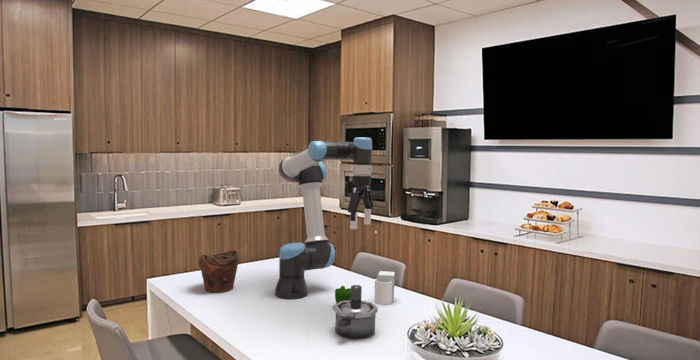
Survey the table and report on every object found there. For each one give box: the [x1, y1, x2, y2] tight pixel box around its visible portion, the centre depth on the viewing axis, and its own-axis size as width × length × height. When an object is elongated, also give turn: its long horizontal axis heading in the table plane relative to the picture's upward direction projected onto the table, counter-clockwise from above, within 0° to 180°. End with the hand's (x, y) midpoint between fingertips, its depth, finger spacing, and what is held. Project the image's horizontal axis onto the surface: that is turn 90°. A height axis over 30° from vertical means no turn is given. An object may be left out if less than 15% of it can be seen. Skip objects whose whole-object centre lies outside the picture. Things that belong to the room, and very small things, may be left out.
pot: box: [333, 299, 379, 340], centre depth 179 cm, size 15×24×10 cm, turn 154°
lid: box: [341, 284, 370, 313], centre depth 179 cm, size 11×11×9 cm
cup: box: [373, 277, 393, 306], centre depth 216 cm, size 8×12×10 cm
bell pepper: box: [334, 285, 351, 305], centre depth 206 cm, size 8×8×10 cm
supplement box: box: [377, 270, 396, 304], centre depth 216 cm, size 7×7×13 cm
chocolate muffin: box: [197, 249, 240, 293], centre depth 227 cm, size 18×20×18 cm
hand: (360, 226), depth 196 cm, fingers open, 13 cm apart
